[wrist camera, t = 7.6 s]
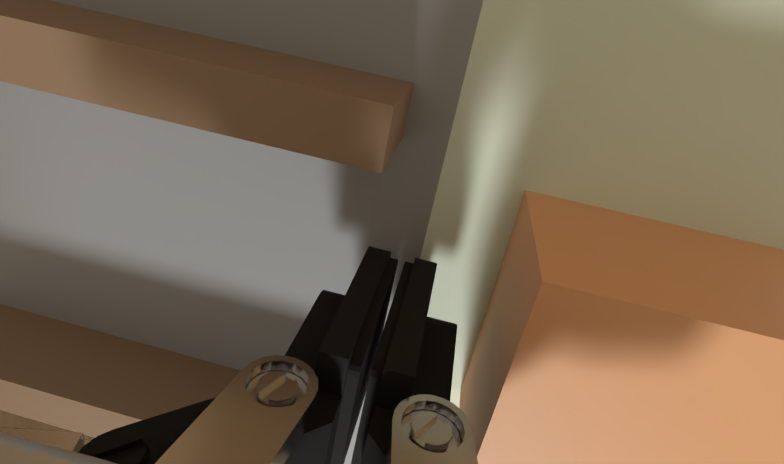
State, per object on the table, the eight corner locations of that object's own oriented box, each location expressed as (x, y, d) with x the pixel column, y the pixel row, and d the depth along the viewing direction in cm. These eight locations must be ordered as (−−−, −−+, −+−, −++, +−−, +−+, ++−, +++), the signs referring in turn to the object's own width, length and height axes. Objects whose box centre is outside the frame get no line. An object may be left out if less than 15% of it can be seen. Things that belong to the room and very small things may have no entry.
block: (682, 448, 13) (751, 613, 10) (460, 390, 14) (450, 526, 10) (805, 254, 11) (963, 384, 7) (525, 190, 11) (542, 281, 8)
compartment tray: (901, 573, 18) (1059, 795, 13) (39, 332, 20) (-105, 441, 15) (1385, 136, 11) (2163, 256, 6) (-38, -156, 13) (-359, -247, 8)
